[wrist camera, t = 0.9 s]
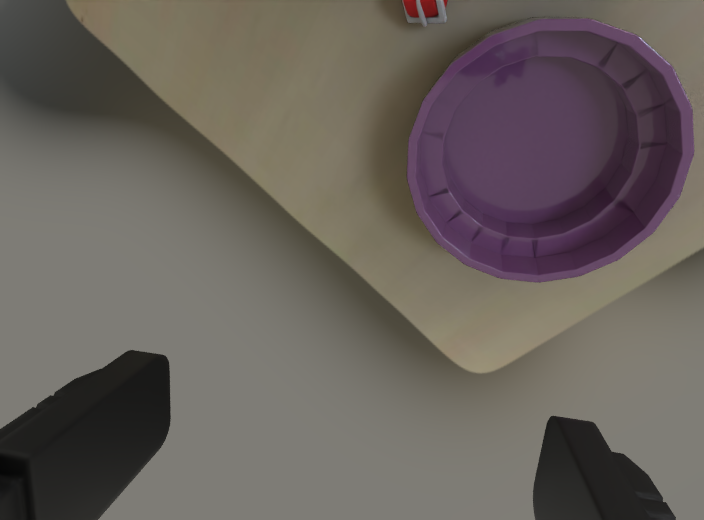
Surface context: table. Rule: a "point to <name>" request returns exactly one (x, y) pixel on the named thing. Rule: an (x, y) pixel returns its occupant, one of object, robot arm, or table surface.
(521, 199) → the bowl
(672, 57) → the table surface
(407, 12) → the tracker holder
